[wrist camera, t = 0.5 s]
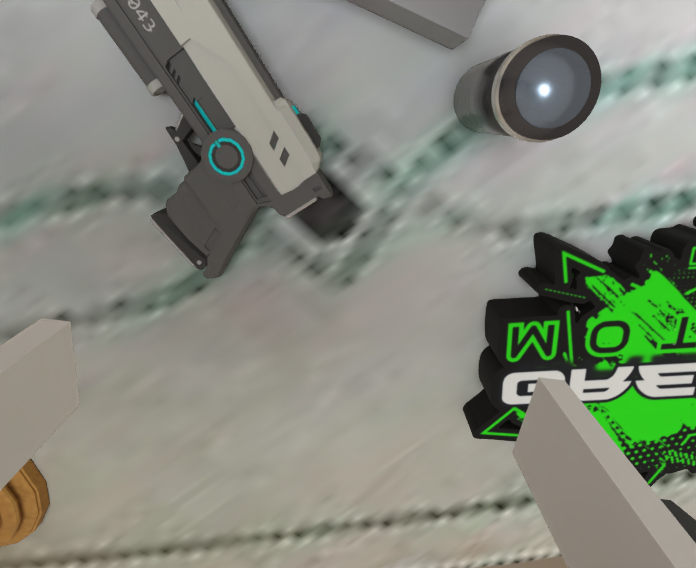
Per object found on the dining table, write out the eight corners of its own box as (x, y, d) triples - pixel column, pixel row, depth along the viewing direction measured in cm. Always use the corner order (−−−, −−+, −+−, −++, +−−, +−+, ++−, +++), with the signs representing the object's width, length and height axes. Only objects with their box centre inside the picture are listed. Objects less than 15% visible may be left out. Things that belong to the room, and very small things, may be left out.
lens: (440, 118, 34) (482, 119, 23) (471, 48, 32) (535, 11, 21) (499, 144, 35) (569, 158, 24) (533, 77, 33) (627, 57, 22)
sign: (918, 213, 33) (797, 508, 43) (856, 202, 37) (759, 475, 48) (481, 242, 34) (469, 522, 45) (467, 228, 38) (459, 489, 49)
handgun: (36, 45, 33) (189, -83, 30) (214, 275, 40) (353, 188, 37) (-5, 36, 29) (164, -112, 26) (199, 292, 36) (353, 197, 33)
